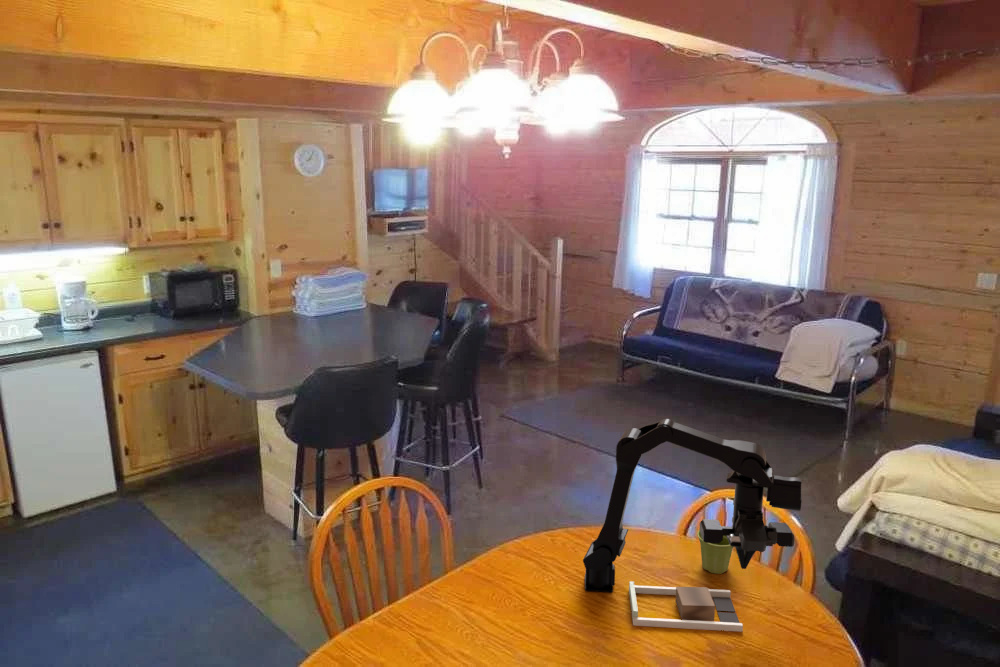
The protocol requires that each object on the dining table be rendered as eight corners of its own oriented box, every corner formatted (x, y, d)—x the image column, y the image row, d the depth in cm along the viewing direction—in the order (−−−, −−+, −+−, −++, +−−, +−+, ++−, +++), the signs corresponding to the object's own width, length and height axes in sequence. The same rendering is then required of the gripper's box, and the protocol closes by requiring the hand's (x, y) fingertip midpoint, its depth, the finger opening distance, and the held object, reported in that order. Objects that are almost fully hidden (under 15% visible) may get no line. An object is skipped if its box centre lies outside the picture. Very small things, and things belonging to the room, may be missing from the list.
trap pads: (722, 627, 149) (722, 626, 149) (712, 597, 160) (712, 596, 160) (741, 628, 149) (741, 627, 149) (730, 598, 159) (730, 597, 159)
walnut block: (681, 621, 152) (682, 605, 151) (675, 602, 159) (676, 586, 158) (714, 622, 152) (715, 605, 151) (706, 602, 158) (707, 587, 157)
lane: (633, 625, 150) (633, 613, 150) (628, 590, 163) (629, 579, 162) (742, 631, 148) (743, 619, 147) (729, 595, 160) (730, 584, 160)
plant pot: (730, 558, 176) (732, 527, 174) (738, 579, 167) (741, 546, 165) (692, 556, 177) (694, 525, 175) (699, 577, 168) (701, 544, 166)
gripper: (710, 518, 141) (706, 586, 145) (805, 522, 139) (798, 591, 143) (701, 494, 152) (697, 558, 156) (789, 497, 150) (783, 562, 154)
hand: (743, 568), depth 152 cm, fingers closed
